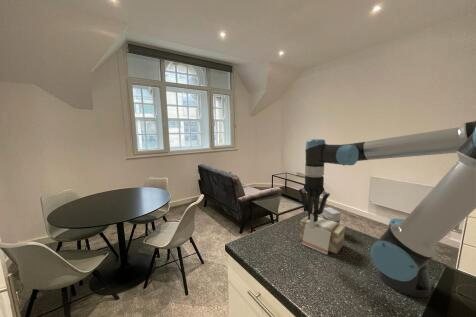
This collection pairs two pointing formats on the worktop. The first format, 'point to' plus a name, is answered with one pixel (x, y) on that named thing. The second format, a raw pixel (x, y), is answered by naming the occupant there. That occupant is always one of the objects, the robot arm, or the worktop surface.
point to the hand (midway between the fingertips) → (312, 227)
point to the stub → (316, 239)
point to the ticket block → (332, 227)
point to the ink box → (331, 214)
